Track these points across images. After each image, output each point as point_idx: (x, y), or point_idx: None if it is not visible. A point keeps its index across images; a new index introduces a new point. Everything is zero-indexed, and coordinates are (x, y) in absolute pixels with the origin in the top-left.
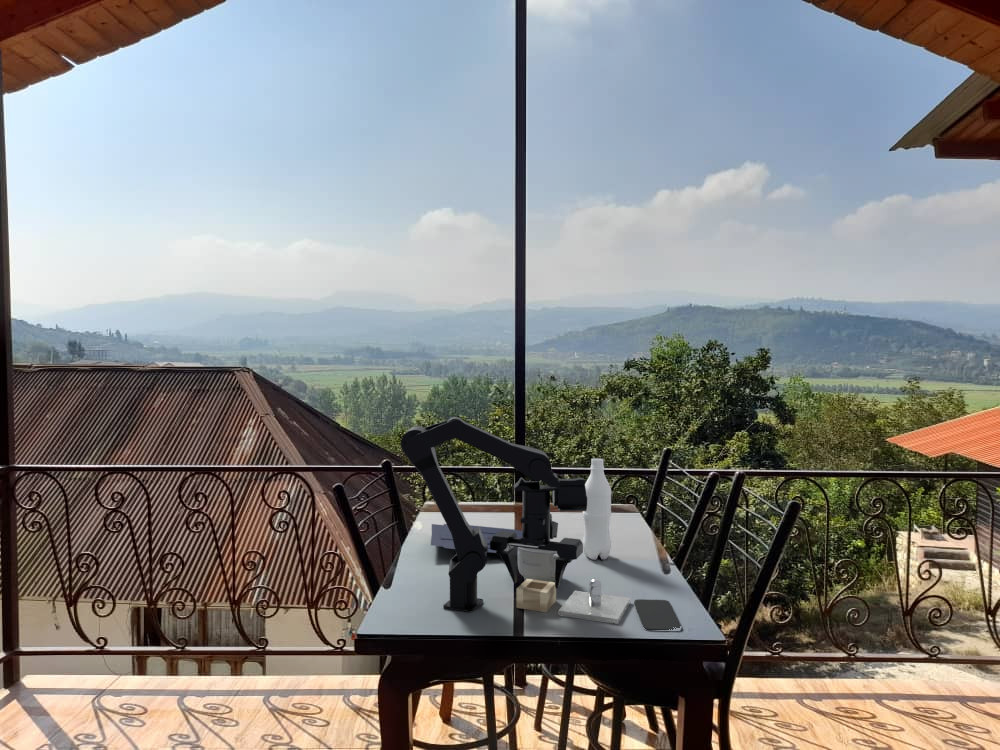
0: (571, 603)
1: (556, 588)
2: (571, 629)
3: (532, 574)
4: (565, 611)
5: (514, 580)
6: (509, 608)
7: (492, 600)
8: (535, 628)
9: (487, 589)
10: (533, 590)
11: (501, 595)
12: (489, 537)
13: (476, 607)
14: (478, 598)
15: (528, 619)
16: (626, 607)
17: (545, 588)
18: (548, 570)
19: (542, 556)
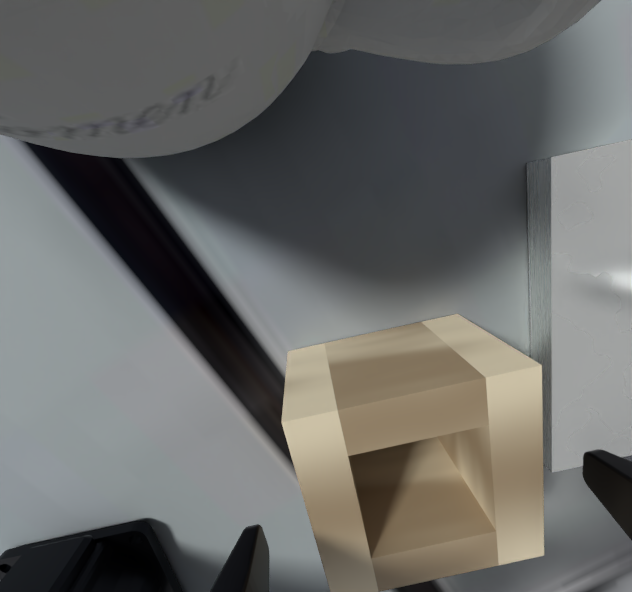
0: (587, 364)
1: (594, 484)
2: (619, 525)
3: (170, 153)
4: None
5: (265, 584)
6: (299, 505)
7: (167, 478)
8: (490, 583)
9: (21, 378)
10: (448, 569)
11: (155, 405)
12: None
13: (178, 584)
14: (114, 536)
15: None
16: None
17: (509, 506)
18: (306, 40)
19: None
